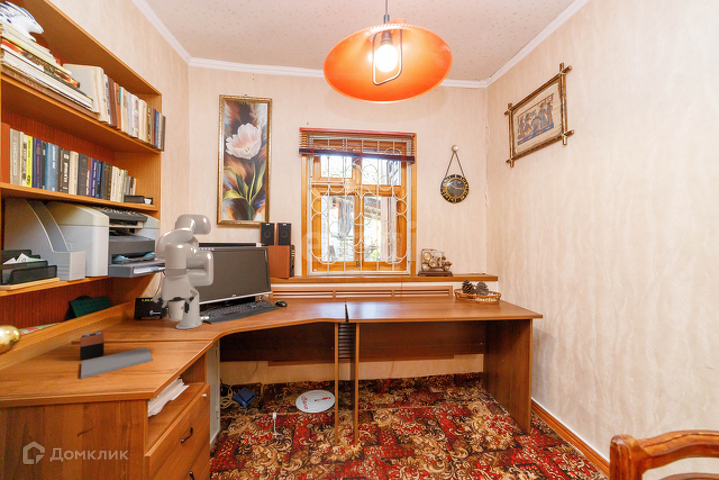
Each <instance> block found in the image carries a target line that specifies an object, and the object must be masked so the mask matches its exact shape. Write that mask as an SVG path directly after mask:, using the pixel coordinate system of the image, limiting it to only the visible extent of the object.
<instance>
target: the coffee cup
mask: <svg viewBox="0 0 719 480" xmlns="http://www.w3.org/2000/svg"><path fill="white" fill-rule="evenodd" d="M184 303H185V298H181V297H174V298H173V300H169V301H168V303H167V304H166V307H167V315H168V319H169V320H168V321H170V322H178V321H179V320H181V319H182V318H183V310H184Z"/></svg>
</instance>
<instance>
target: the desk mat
mask: <svg viewBox="0 0 719 480" xmlns="http://www.w3.org/2000/svg"><path fill="white" fill-rule="evenodd" d="M153 359H154V357H153V356H152V354H151V352H150V351H149V349H148V347H147V346H145V347H144V346H143V347H139V348H135V349H131V350H127V351H123V352H117V353H113V354H112V353H111V354H108V355H105V356H104V355H103V356H101V357H96V358H91V359H86V360H81V369H80V370H81V371H80V379H86V378H89V377H93V376H97V375H100V374H104V373H109V372H112V371H116V370H121V369H124V368H128V367H132V366H133V367H134V366H136V365H140V364H144V363H147V362H148V363H149V362H152V361H153Z"/></svg>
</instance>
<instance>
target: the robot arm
mask: <svg viewBox="0 0 719 480" xmlns="http://www.w3.org/2000/svg"><path fill="white" fill-rule="evenodd" d="M211 224H212V223H211V221H210V219H209V218H208V216H206V215H204V214H191V213H190V214H181V215H179V216H178V217H177V218H176V221H175V222H174V228H173V229H172V230H170V231H168V232H166V233H164V234H162V235H161V236H160V237H159V238H158V240H157V243H156V245H155V249H154V253H155V254H154V255H155V258H157V259H158V260H160V261H164V276H162V278H161V282H160V292H158V293H157V294H156V295H155V296H153V298H152V299H151V300H152V301H153V302H154V303H156V305H158V306H159V307H161V316H163V317H164V318H167V317H168V308H167V303H168V301H169V300H173V298H174V297H181V298H185V303H184V310H183V318H182V319H181V320H178V321H179V323H177V324H176V325H175V329H179V330H188V329H193V328H197V327H200V326H202V325H203V321H209V318H210V317H209V315H207V316H206V315H204V316H201V315H200V293H199V291H198V289H196V288H195V287H204V286H205V287H206V286H207V287H208V286H211V285H212V284H213V283H214V255H213V252H212V251H210V250H202V249H201V250H200V249H199V248H200V244H199V243H200V242H199V240H198V239H197V237H195V236H194V235H203V236H204V235H209V234H211V229H212V225H211ZM189 268H202V269H189ZM203 268H204V269H203ZM159 299H160V300H162V301H160V300H159Z"/></svg>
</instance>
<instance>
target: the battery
mask: <svg viewBox="0 0 719 480" xmlns="http://www.w3.org/2000/svg"><path fill="white" fill-rule="evenodd" d="M104 354H105V332H103V331H96V332H95V333H91V332H86V333H83V335H81V337H80V339H79V355H80V356H79V359H80V361H85V360H90V359H94V358H99V357H103V356H104Z"/></svg>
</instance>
